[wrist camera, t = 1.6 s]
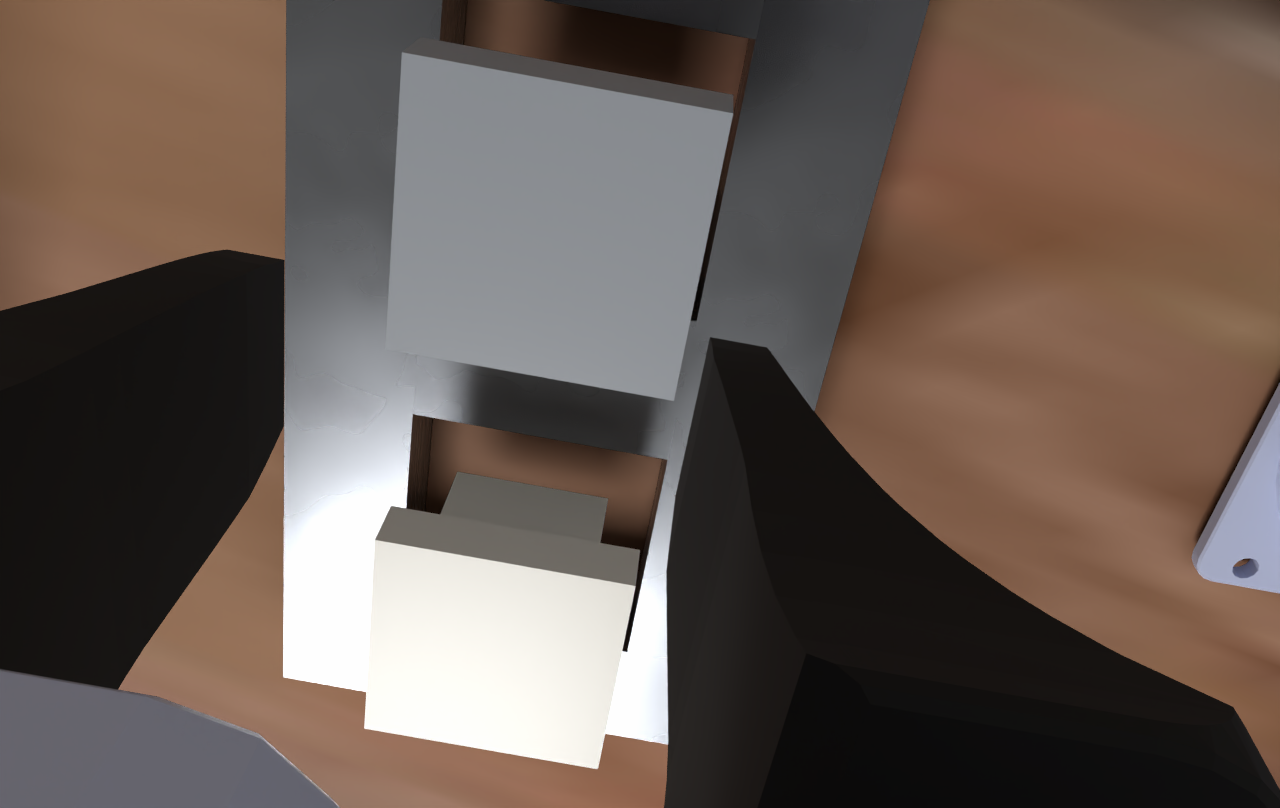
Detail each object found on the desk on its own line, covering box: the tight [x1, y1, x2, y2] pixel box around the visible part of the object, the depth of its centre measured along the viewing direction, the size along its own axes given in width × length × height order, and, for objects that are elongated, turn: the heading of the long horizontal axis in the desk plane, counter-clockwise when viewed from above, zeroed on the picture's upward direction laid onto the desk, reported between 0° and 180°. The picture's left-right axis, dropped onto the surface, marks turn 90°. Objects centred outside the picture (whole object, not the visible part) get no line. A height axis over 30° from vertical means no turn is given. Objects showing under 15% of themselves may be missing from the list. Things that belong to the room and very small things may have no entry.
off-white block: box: [364, 472, 640, 769], centre depth 21 cm, size 4×4×3 cm
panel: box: [283, 0, 930, 744], centre depth 20 cm, size 10×26×2 cm, turn 171°
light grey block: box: [385, 37, 733, 401], centre depth 17 cm, size 4×4×3 cm
